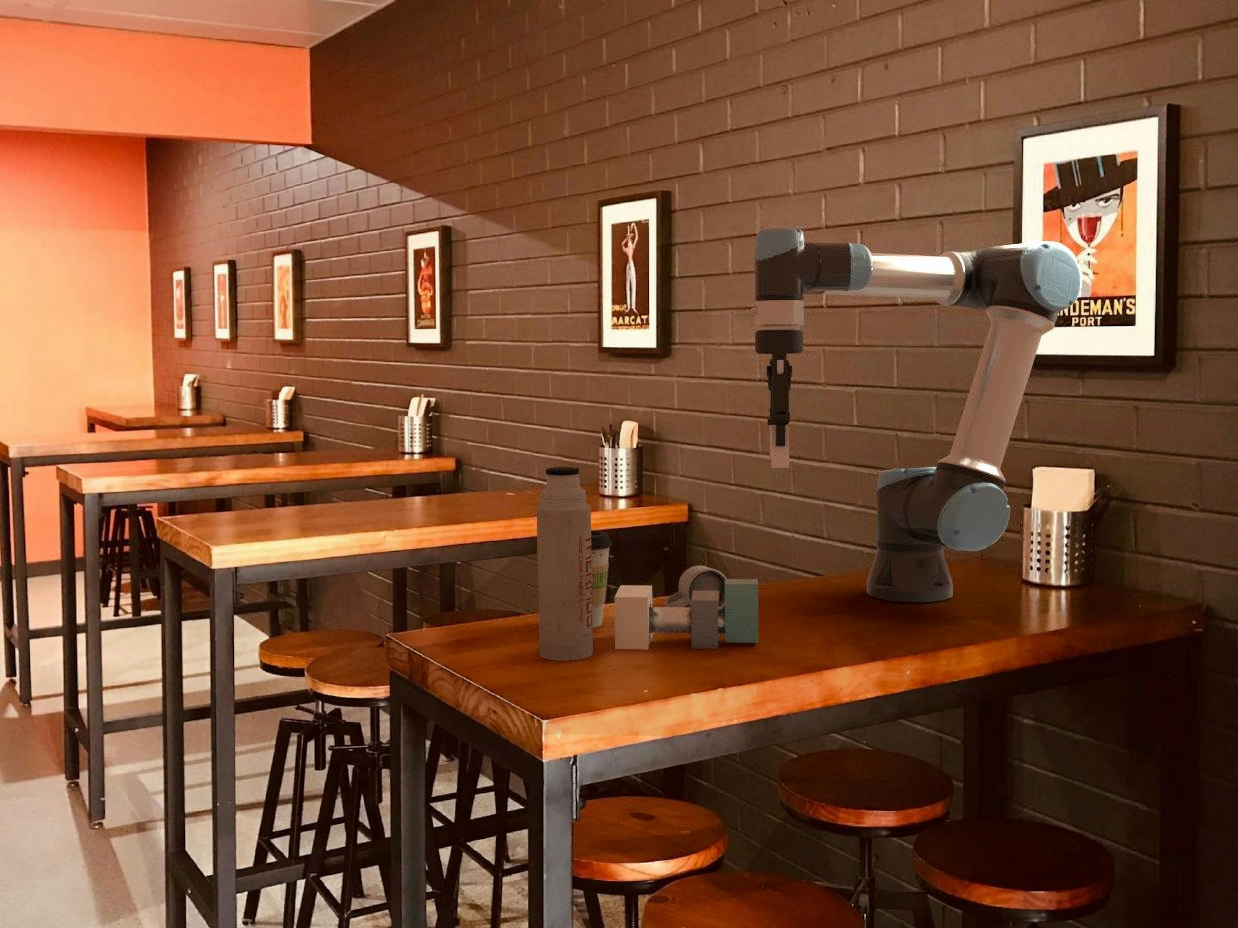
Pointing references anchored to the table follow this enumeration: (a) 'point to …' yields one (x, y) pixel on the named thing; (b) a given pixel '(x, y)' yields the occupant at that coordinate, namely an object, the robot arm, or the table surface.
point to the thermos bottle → (564, 568)
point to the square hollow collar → (704, 619)
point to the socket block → (632, 617)
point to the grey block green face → (732, 619)
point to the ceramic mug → (697, 586)
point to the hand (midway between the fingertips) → (779, 463)
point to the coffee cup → (599, 573)
